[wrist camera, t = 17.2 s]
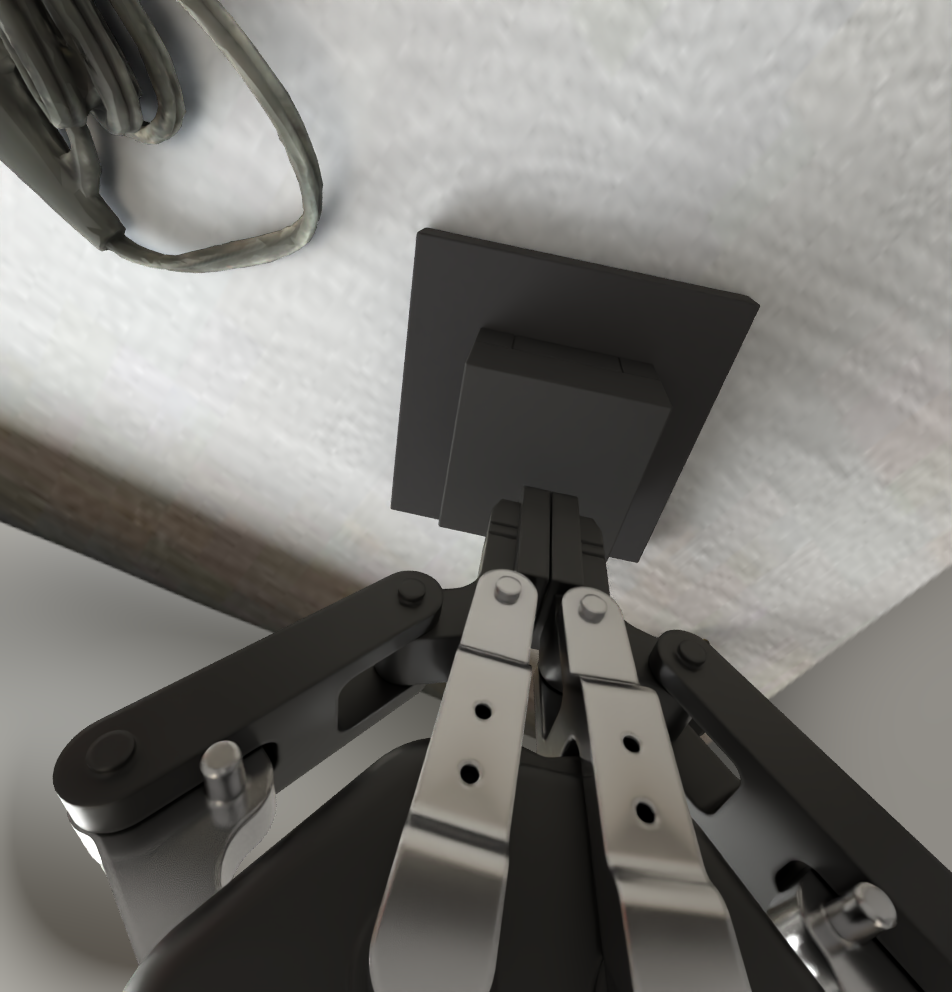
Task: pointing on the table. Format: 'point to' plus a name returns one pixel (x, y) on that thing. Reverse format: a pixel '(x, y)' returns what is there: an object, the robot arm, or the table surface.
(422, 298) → the base pad
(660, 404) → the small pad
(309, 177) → the hair dryer
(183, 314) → the table surface
